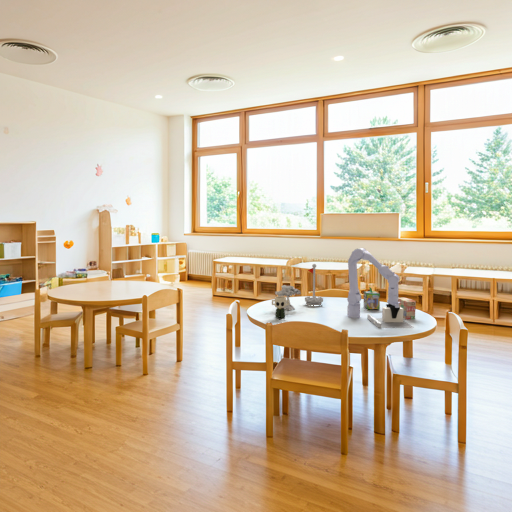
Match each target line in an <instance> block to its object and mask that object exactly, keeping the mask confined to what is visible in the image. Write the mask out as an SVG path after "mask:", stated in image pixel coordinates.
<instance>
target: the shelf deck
mask: <svg viewBox="0 0 512 512" xmlns="http://www.w3.org/2000/svg"><path fill="white" fill-rule="evenodd" d="M374 318H375V317H374ZM375 319H376V320H378V321H379V322H380V323H381V328H380V329H413V328H414V326H412V325H410V324H409V323H407V322H406V321H404V320H403V322H384V321H382V317H381V318H377V317H376V318H375ZM373 325H374V326H376V325H375V324H373Z"/></svg>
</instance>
